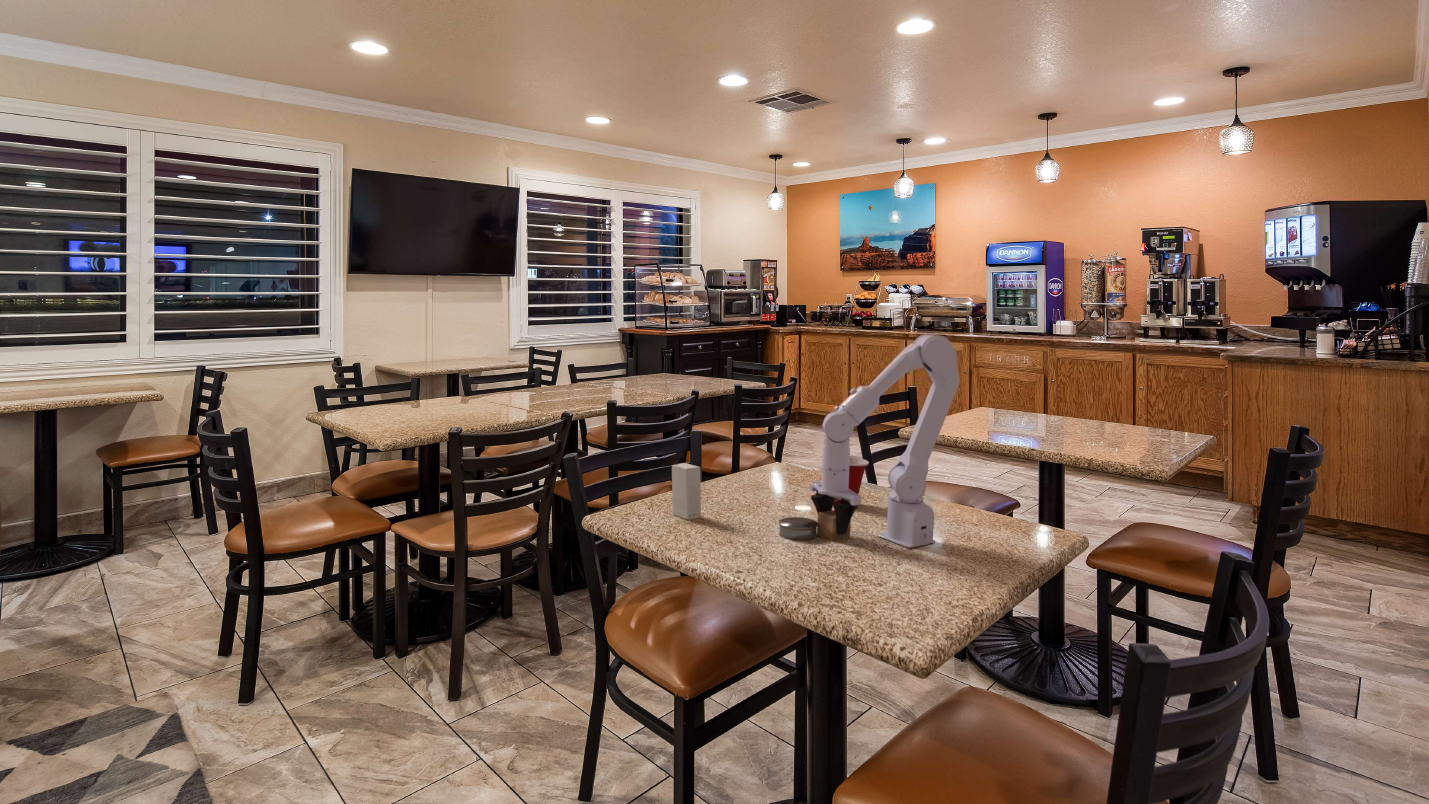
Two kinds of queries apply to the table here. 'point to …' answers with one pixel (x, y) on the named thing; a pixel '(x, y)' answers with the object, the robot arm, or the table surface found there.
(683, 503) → the skincare box
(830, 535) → the walnut block
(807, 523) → the grey metal cylinder
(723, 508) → the table surface
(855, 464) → the plastic cup
